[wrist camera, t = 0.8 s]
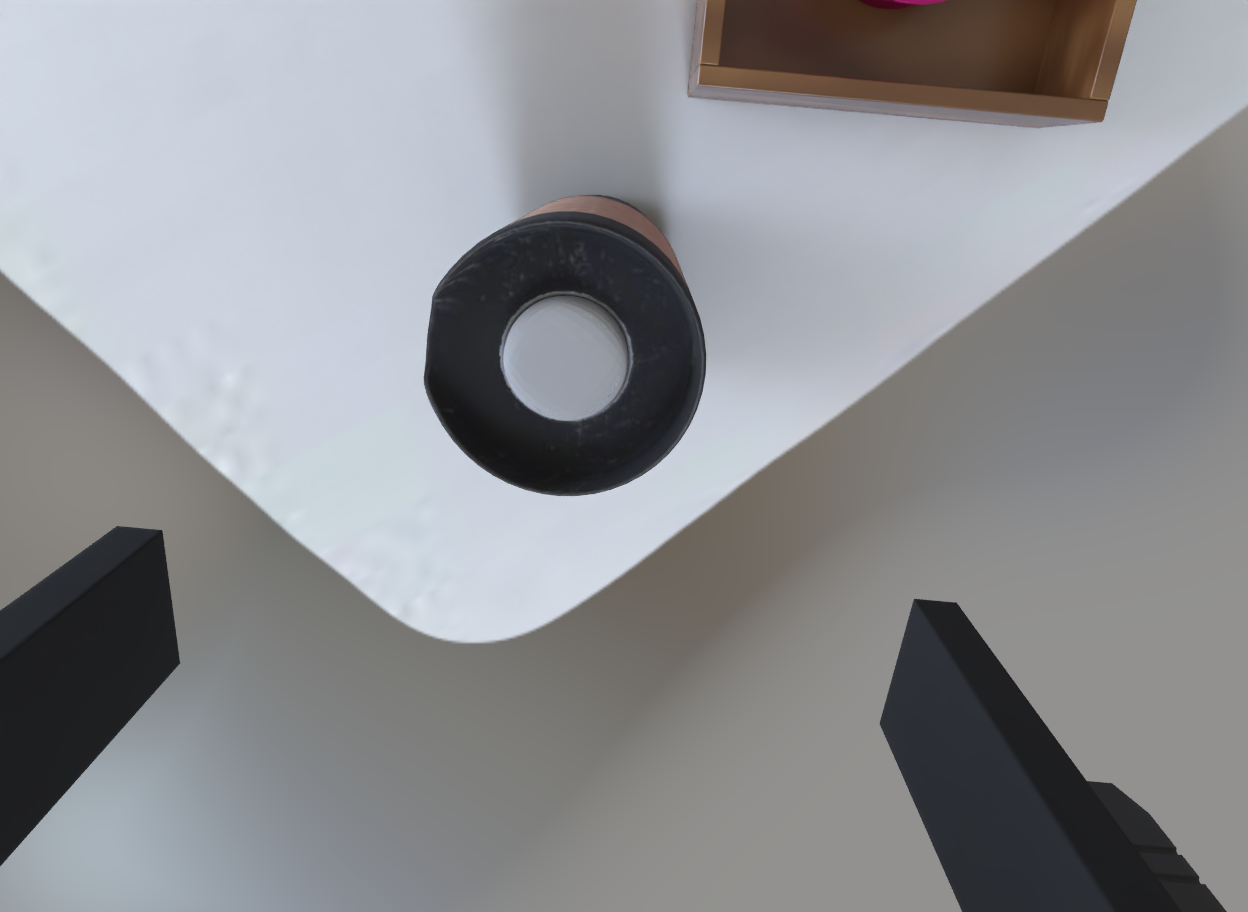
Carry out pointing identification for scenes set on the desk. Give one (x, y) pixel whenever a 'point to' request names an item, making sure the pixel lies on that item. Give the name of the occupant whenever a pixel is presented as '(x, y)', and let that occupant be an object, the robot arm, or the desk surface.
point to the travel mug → (567, 349)
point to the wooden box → (915, 57)
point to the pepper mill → (897, 3)
